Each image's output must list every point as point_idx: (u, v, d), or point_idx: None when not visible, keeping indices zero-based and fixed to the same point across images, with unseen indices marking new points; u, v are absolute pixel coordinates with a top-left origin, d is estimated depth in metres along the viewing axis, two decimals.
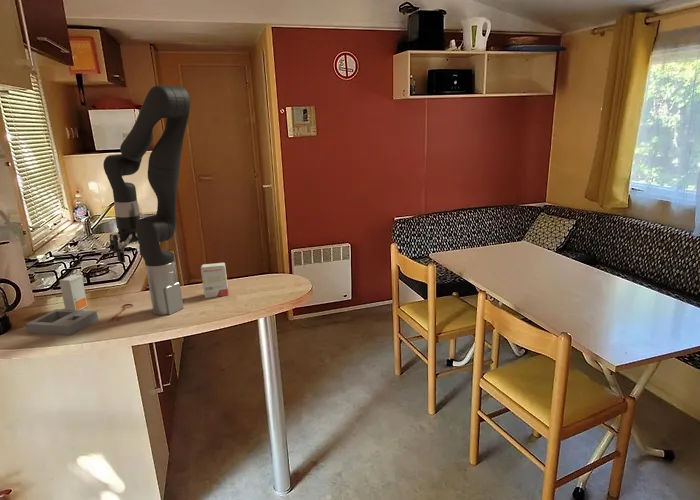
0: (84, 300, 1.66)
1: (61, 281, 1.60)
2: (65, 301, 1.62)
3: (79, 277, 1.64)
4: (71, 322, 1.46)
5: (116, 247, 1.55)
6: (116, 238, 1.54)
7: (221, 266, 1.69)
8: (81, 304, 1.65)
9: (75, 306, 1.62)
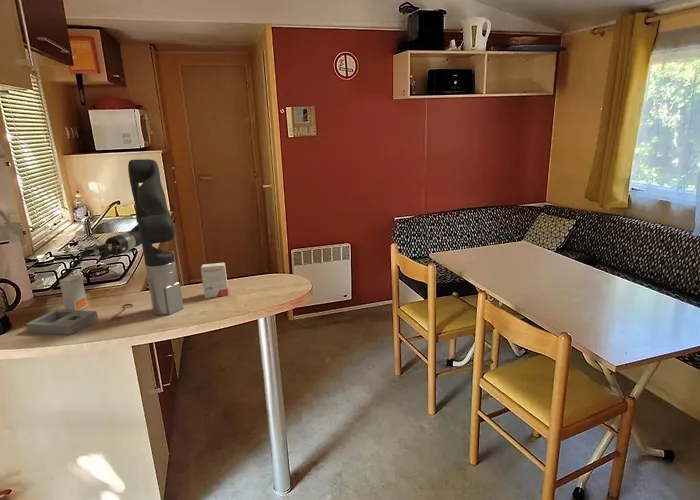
0: (84, 300, 1.66)
1: (61, 281, 1.60)
2: (65, 301, 1.62)
3: (79, 277, 1.64)
4: (71, 322, 1.46)
5: (87, 247, 1.78)
6: (94, 245, 1.81)
7: (221, 266, 1.69)
8: (81, 304, 1.65)
9: (75, 306, 1.62)
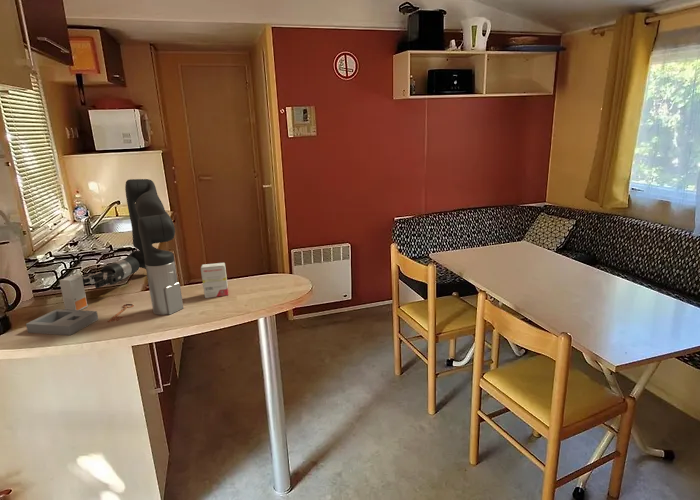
0: (84, 300, 1.66)
1: (61, 281, 1.60)
2: (65, 301, 1.62)
3: (79, 277, 1.64)
4: (71, 322, 1.46)
5: (82, 276, 1.76)
6: (89, 273, 1.79)
7: (221, 266, 1.69)
8: (81, 304, 1.65)
9: (75, 306, 1.62)
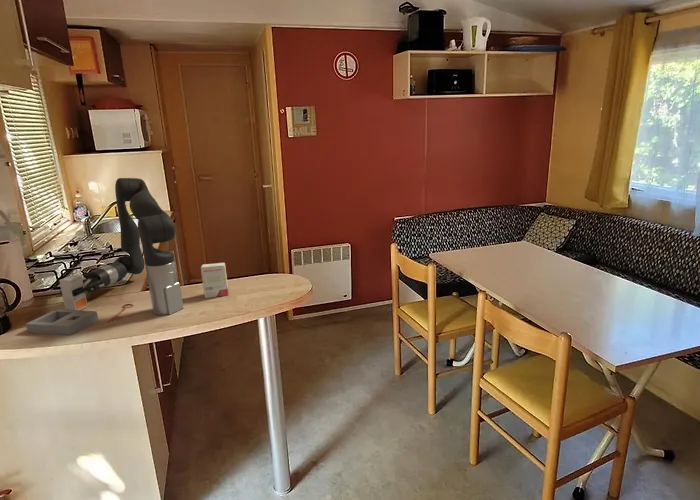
0: (84, 300, 1.66)
1: (61, 281, 1.60)
2: (65, 301, 1.62)
3: (79, 277, 1.64)
4: (71, 322, 1.46)
5: None
6: None
7: (221, 266, 1.69)
8: (81, 304, 1.65)
9: (75, 306, 1.62)
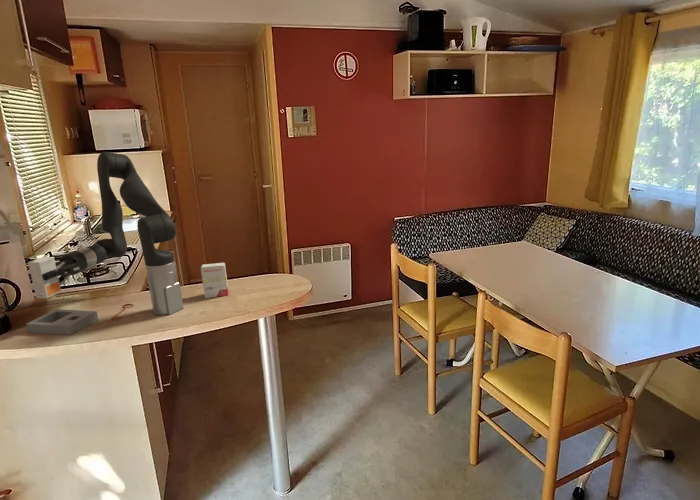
0: (57, 285, 1.50)
1: (30, 263, 1.44)
2: (35, 286, 1.46)
3: (51, 259, 1.48)
4: (71, 322, 1.46)
5: None
6: None
7: (221, 266, 1.69)
8: (54, 289, 1.49)
9: (46, 291, 1.46)
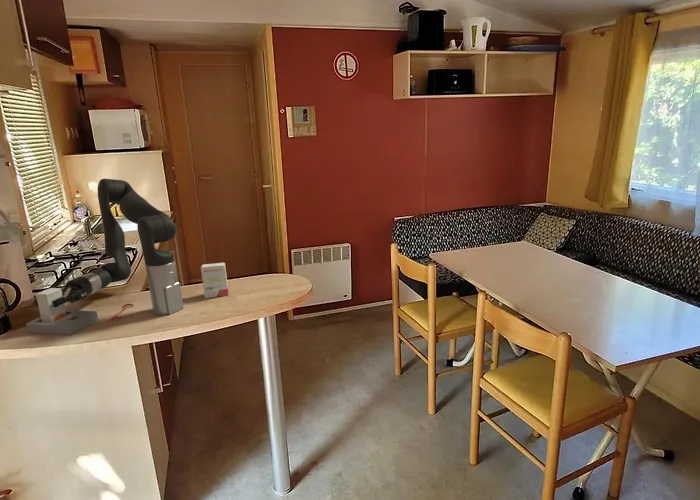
0: (64, 315, 1.53)
1: (38, 295, 1.47)
2: (42, 317, 1.49)
3: (58, 290, 1.50)
4: (71, 322, 1.46)
5: None
6: None
7: (221, 266, 1.69)
8: None
9: None
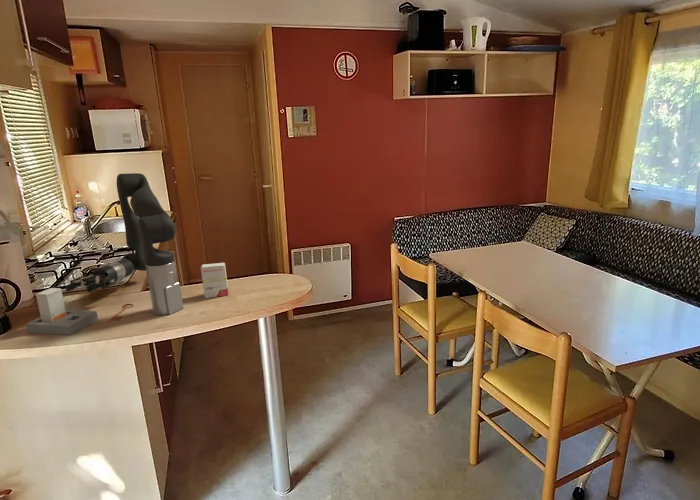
0: (64, 315, 1.53)
1: (38, 295, 1.47)
2: (42, 317, 1.49)
3: (58, 290, 1.50)
4: (71, 322, 1.46)
5: (73, 279, 1.67)
6: (81, 276, 1.70)
7: (221, 266, 1.69)
8: None
9: None
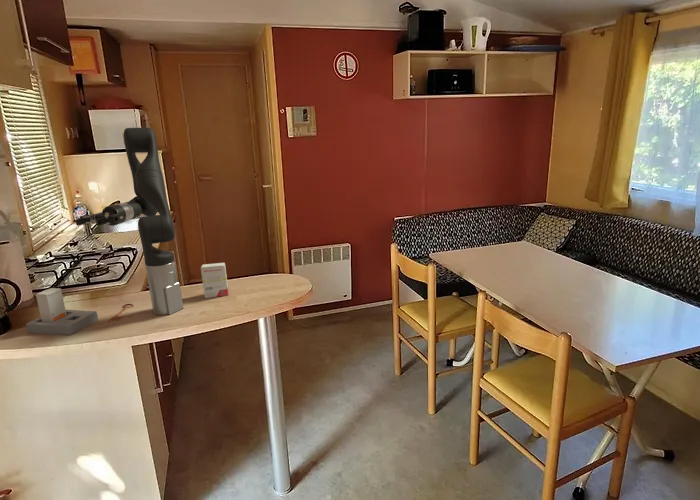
0: (64, 315, 1.53)
1: (38, 295, 1.47)
2: (42, 317, 1.49)
3: (58, 290, 1.50)
4: (71, 322, 1.46)
5: (83, 216, 1.70)
6: (90, 214, 1.73)
7: (221, 266, 1.69)
8: None
9: None
